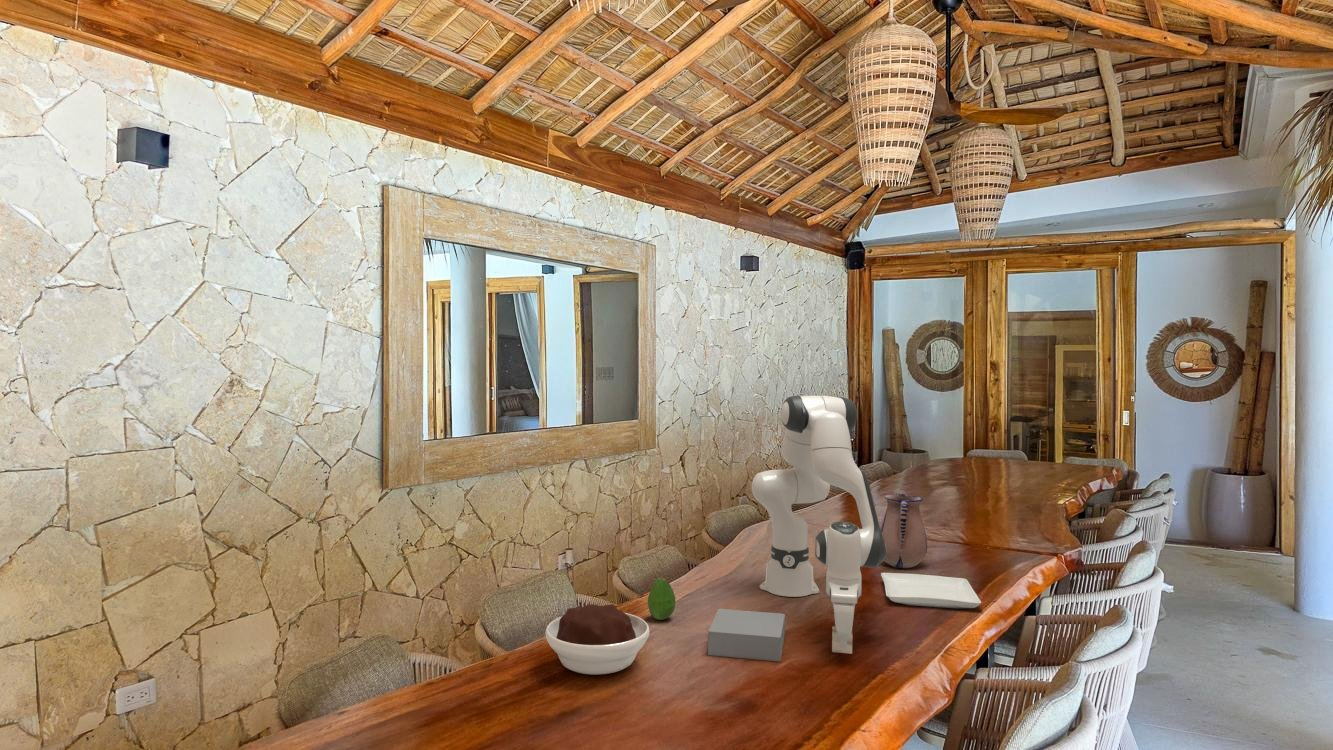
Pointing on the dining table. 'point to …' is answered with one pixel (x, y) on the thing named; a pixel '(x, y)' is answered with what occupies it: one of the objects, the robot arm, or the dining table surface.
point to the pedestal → (747, 635)
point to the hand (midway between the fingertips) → (842, 640)
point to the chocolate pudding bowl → (597, 638)
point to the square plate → (930, 590)
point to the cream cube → (836, 643)
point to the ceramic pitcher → (903, 531)
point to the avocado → (661, 599)
